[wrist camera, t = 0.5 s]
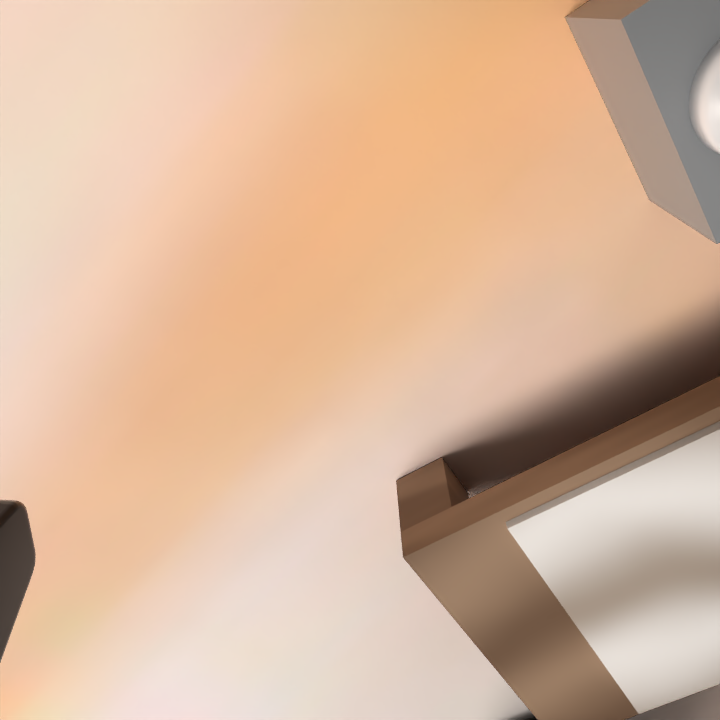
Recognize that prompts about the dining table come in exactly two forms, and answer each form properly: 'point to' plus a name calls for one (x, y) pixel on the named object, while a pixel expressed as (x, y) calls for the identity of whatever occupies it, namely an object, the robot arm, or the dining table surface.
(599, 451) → the walnut stand
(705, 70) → the housing
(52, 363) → the dining table surface
